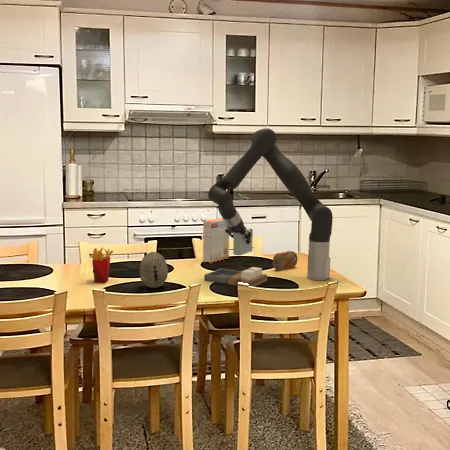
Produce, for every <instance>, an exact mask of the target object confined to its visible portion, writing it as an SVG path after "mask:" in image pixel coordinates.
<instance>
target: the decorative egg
mask: <svg viewBox="0 0 450 450" xmlns="http://www.w3.org/2000/svg"><path fill="white" fill-rule="evenodd" d="M138 273H139V278H140V281H141V283H142V284H143V285H144V286H146V287H148V288H150V289H157V288H159V287H161V286H162V285H164V284H165V282H166V281H167V278H168V276H169V271H168V264H167V260H166V259H165V257H164V256H163V255H162V254H160V253H159V252H156V251H151V252H148V253H147V254H145V255H144V256H143V258H142V259H141V262H140V264H139V267H138Z"/></svg>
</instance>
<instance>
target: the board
mask: <svg viewBox="0 0 450 450" xmlns="http://www.w3.org/2000/svg"><path fill="white" fill-rule="evenodd" d="M265 281H267V282H268V274H265V273H262V275H261V276H258V277H256V278H254V279H251V280H249V279H242V278H241V272H239V273H237V274H234V275H232V276H229V277H227V284H226V285H230V286H237V283H238V282H243V283H248V284H250V286H256V287H258V286H260V285H262V284H261V283H263V282H265ZM265 283H266V282H265ZM259 284H260V285H259ZM263 284H264V283H263ZM257 285H258V286H257ZM237 287H238V286H237Z"/></svg>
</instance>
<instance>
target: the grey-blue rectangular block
mask: <svg viewBox="0 0 450 450" xmlns="http://www.w3.org/2000/svg"><path fill="white" fill-rule="evenodd" d="M253 233H254V231H253V229H252V236H251V239H250V240H251V242H250V244H249V245H248V244H247V243H246V241H245V239H244V238H243V237H242V235H241V234H238V233H235V234H234V238H233V247H232V248H233V252H232V253H233V254H232V255H233V256H242V255H246V254H248V253H251V252H253V239H254V238H253V236H254V235H253Z"/></svg>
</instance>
